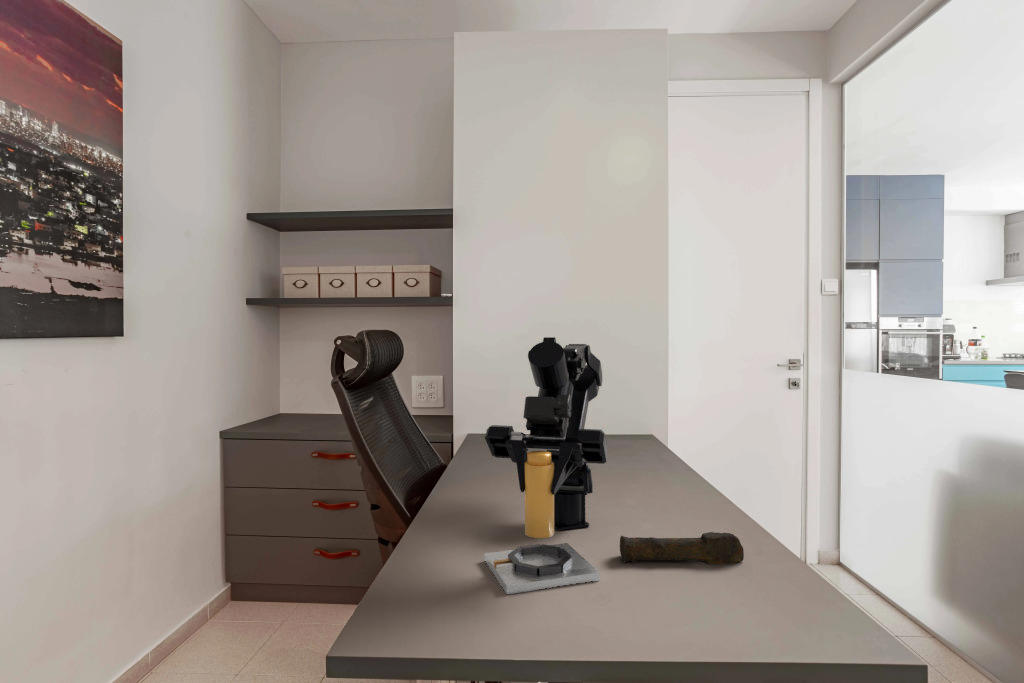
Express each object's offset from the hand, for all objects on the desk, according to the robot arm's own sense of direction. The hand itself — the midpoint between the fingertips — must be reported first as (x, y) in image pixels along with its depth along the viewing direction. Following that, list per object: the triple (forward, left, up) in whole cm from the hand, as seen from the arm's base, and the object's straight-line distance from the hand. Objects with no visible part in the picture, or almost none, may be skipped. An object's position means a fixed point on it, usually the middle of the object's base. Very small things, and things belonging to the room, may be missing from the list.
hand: (537, 492), depth 84 cm
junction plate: (-1, -1, -12) cm, 12 cm away
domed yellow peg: (-1, -1, -7) cm, 7 cm away
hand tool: (-23, +2, -13) cm, 26 cm away
